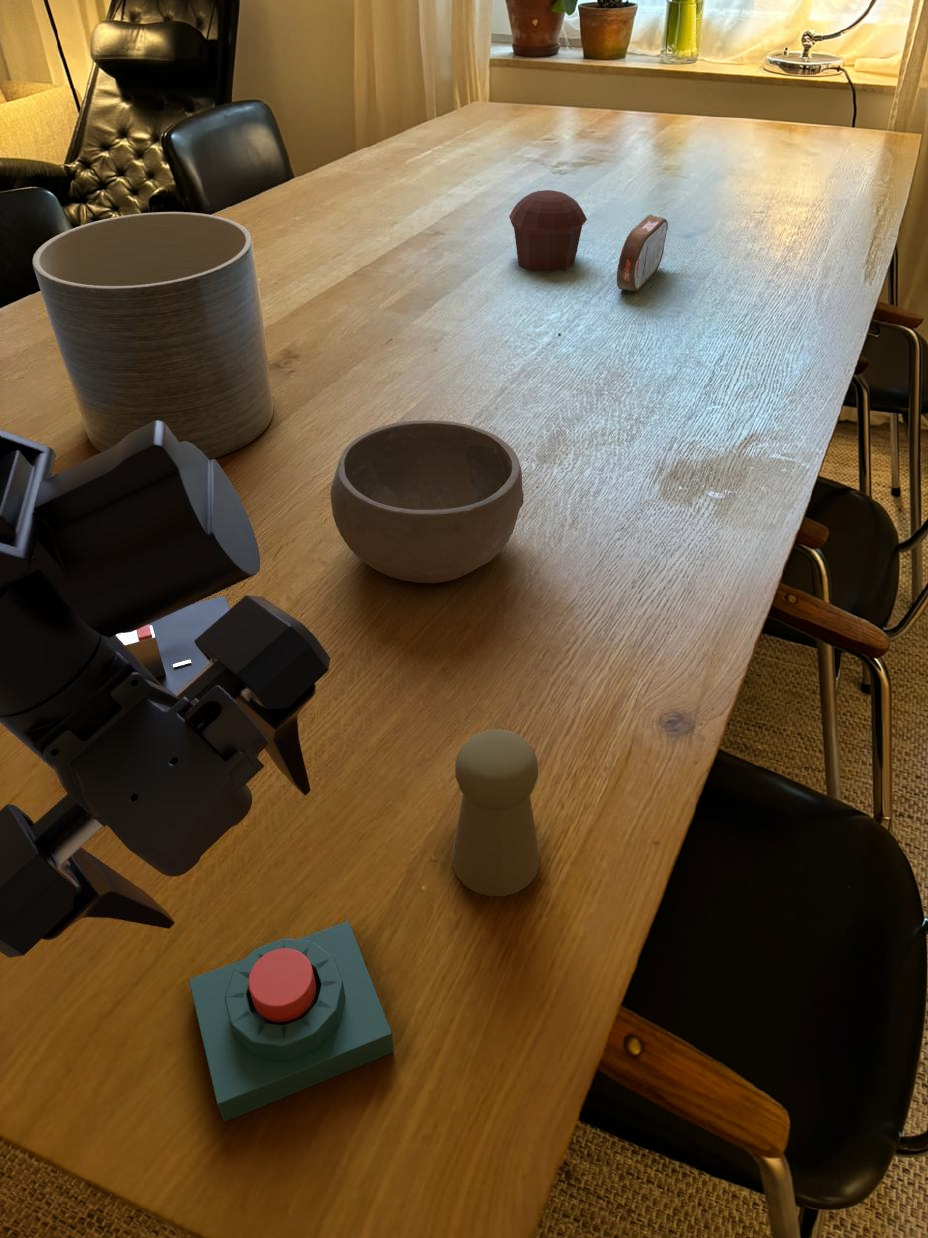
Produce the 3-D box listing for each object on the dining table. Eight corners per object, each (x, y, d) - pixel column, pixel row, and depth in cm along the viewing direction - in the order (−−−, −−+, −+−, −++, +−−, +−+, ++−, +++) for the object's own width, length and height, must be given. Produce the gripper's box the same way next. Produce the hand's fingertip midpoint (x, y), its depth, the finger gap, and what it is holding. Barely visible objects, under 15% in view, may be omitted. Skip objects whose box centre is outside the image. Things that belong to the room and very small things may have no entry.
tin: (646, 262, 152) (652, 205, 146) (666, 265, 151) (673, 208, 145) (612, 297, 142) (617, 238, 136) (633, 301, 140) (639, 241, 135)
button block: (224, 1123, 55) (211, 1089, 52) (195, 998, 60) (182, 962, 58) (394, 1052, 58) (390, 1017, 55) (351, 940, 63) (346, 903, 61)
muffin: (494, 264, 152) (494, 196, 146) (533, 243, 159) (534, 177, 152) (560, 281, 147) (563, 211, 140) (597, 258, 153) (602, 190, 147)
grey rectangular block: (101, 693, 77) (86, 652, 74) (98, 680, 78) (84, 639, 75) (166, 675, 78) (154, 634, 75) (162, 662, 79) (151, 622, 76)
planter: (241, 477, 106) (207, 293, 93) (48, 462, 109) (-11, 281, 96) (301, 382, 123) (279, 215, 110) (132, 371, 126) (92, 207, 113)
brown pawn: (459, 818, 71) (456, 709, 64) (544, 829, 70) (551, 720, 63) (444, 890, 66) (439, 781, 59) (534, 902, 65) (540, 793, 58)
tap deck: (83, 764, 75) (72, 735, 73) (66, 664, 84) (56, 636, 82) (264, 710, 79) (258, 682, 77) (230, 621, 88) (224, 593, 86)
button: (261, 1032, 55) (256, 1016, 54) (246, 977, 57) (241, 961, 56) (324, 1008, 56) (320, 992, 55) (306, 955, 58) (302, 939, 57)
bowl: (531, 508, 101) (534, 420, 94) (505, 619, 87) (506, 525, 81) (367, 493, 103) (359, 406, 97) (317, 599, 90) (304, 506, 83)
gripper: (-108, 945, 33) (162, 1108, 43) (308, 573, 38) (460, 797, 48) (-168, 788, 40) (72, 957, 51) (184, 499, 46) (337, 704, 56)
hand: (238, 853), depth 51 cm, fingers open, 9 cm apart
